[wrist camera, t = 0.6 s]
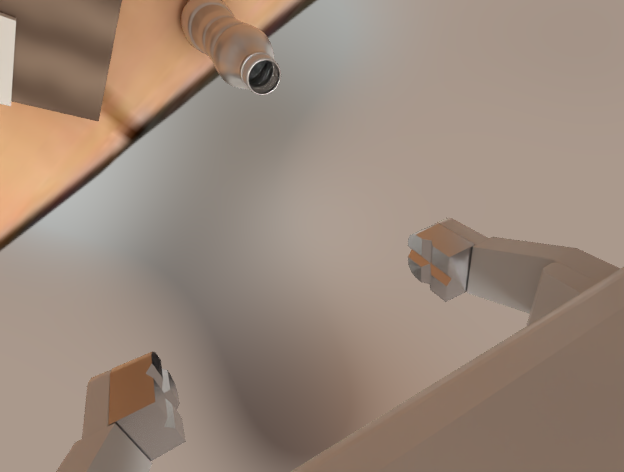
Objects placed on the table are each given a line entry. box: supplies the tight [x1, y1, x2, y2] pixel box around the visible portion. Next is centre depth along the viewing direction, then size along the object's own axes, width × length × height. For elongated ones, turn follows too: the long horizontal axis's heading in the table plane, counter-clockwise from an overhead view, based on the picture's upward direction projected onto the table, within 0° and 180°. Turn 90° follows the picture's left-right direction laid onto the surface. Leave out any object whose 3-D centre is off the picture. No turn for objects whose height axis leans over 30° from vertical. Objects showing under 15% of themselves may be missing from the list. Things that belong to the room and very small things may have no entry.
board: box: [0, 0, 122, 121], centre depth 35 cm, size 18×18×4 cm
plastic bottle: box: [181, 0, 281, 95], centre depth 40 cm, size 6×7×20 cm
